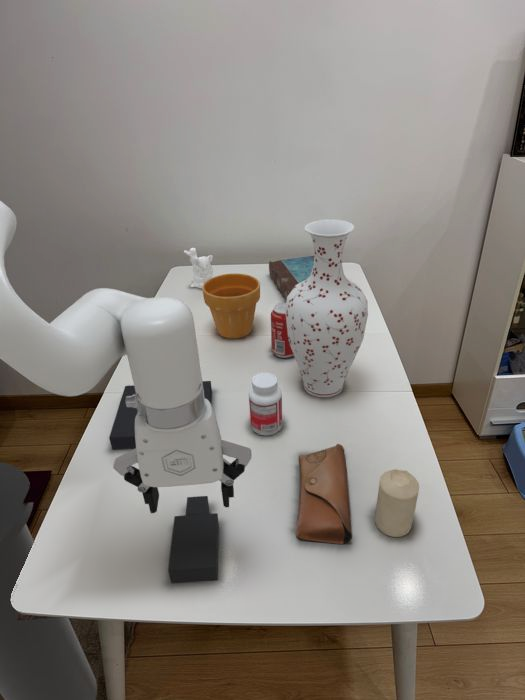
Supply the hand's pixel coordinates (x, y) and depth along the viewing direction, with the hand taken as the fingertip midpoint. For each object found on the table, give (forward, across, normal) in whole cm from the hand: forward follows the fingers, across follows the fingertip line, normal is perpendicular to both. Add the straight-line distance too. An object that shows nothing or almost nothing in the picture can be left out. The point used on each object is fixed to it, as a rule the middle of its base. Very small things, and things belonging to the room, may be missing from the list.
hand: (191, 501), depth 66 cm
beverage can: (+11, +18, +53) cm, 57 cm away
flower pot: (+11, +6, +65) cm, 66 cm away
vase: (+11, +24, +39) cm, 47 cm away
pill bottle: (+11, +11, +27) cm, 31 cm away
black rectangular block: (+11, -1, +2) cm, 11 cm away
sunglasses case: (+11, +19, +9) cm, 24 cm away
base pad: (+11, -9, +31) cm, 34 cm away
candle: (+12, +29, +3) cm, 32 cm away
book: (+11, +28, +89) cm, 94 cm away
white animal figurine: (+11, -4, +94) cm, 95 cm away
